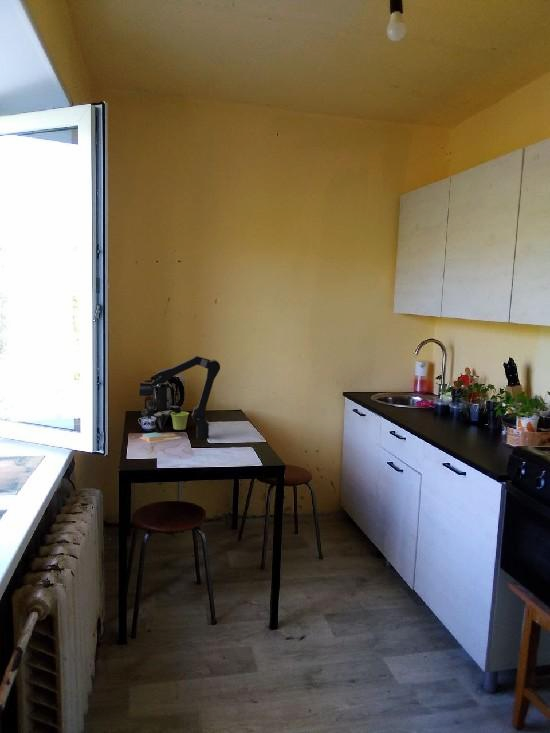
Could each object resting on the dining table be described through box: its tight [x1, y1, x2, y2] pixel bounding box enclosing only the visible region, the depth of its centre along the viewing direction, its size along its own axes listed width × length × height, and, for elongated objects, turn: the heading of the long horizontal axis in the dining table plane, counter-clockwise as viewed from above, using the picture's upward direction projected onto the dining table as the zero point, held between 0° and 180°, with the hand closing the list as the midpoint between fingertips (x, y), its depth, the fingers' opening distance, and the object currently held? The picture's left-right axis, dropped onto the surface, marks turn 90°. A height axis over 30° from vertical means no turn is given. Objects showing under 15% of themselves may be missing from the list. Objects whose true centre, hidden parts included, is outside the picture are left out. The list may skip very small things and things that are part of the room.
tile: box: [142, 432, 163, 443], centre depth 260 cm, size 7×2×7 cm
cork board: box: [139, 432, 183, 444], centre depth 263 cm, size 12×17×1 cm
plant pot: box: [170, 411, 190, 431], centre depth 283 cm, size 9×9×9 cm
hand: (161, 428), depth 263 cm, fingers closed
